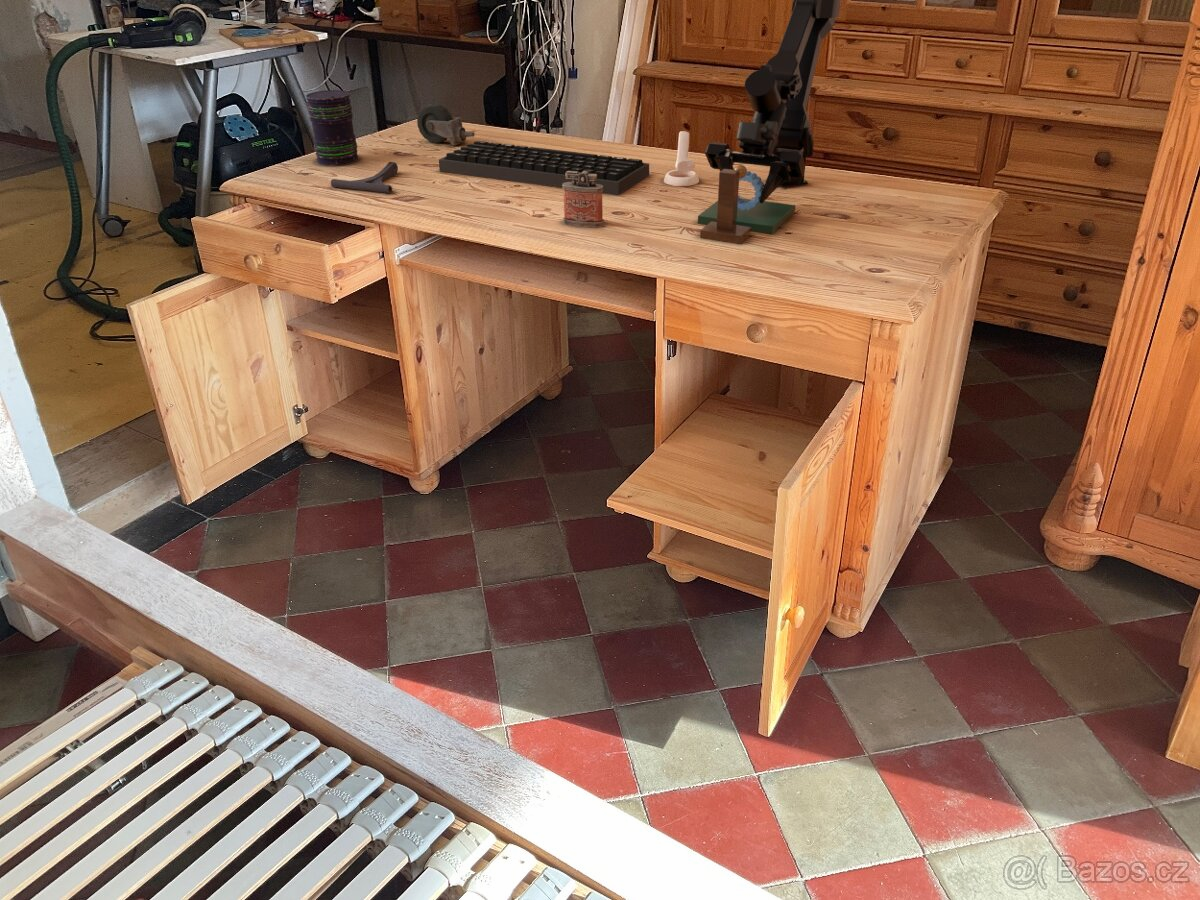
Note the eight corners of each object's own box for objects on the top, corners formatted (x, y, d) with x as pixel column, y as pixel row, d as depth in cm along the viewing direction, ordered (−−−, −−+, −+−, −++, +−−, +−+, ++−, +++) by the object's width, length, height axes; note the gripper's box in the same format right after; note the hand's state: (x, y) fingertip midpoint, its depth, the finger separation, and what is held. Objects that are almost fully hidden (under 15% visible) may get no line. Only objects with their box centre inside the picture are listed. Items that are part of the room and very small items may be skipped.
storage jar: (310, 159, 232) (299, 93, 224) (350, 152, 236) (340, 88, 229) (324, 168, 225) (314, 101, 217) (365, 161, 229) (356, 95, 221)
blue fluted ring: (729, 204, 189) (731, 168, 186) (763, 209, 187) (766, 172, 183) (725, 208, 188) (727, 172, 184) (759, 212, 185) (762, 176, 181)
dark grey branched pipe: (423, 175, 219) (422, 163, 217) (388, 194, 207) (386, 181, 205) (368, 170, 223) (367, 158, 222) (331, 188, 211) (329, 175, 210)
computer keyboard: (649, 175, 216) (649, 158, 214) (618, 195, 204) (618, 176, 202) (477, 154, 233) (476, 138, 231) (439, 171, 221) (438, 154, 219)
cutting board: (723, 203, 198) (723, 195, 197) (794, 212, 192) (795, 205, 192) (697, 223, 188) (697, 215, 187) (772, 234, 182) (772, 226, 181)
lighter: (606, 222, 189) (605, 171, 183) (600, 228, 186) (599, 175, 181) (567, 218, 191) (565, 167, 186) (560, 224, 188) (559, 172, 183)
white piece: (693, 146, 217) (705, 133, 210) (691, 198, 215) (703, 187, 209) (661, 140, 215) (673, 128, 208) (659, 193, 213) (670, 182, 207)
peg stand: (719, 221, 188) (722, 159, 182) (759, 227, 185) (763, 163, 179) (699, 237, 181) (702, 173, 174) (740, 243, 177) (745, 178, 171)
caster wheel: (417, 147, 244) (469, 146, 238) (410, 107, 239) (462, 105, 233) (429, 141, 248) (480, 140, 242) (422, 102, 243) (474, 100, 237)
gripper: (710, 98, 184) (686, 172, 181) (806, 107, 177) (783, 183, 174) (723, 131, 194) (700, 201, 192) (814, 141, 187) (792, 214, 184)
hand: (742, 199), depth 185 cm, fingers closed on blue fluted ring, 7 cm apart
